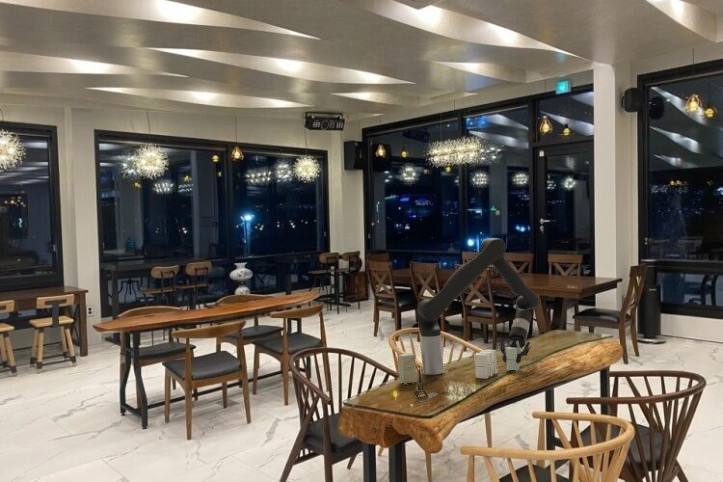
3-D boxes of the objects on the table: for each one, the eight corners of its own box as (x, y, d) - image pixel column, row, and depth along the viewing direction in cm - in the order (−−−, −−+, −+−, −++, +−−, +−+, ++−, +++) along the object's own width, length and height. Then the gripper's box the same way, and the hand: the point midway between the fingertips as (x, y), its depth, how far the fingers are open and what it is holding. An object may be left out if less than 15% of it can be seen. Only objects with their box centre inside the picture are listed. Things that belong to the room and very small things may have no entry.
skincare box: (404, 385, 238) (402, 356, 238) (399, 383, 242) (397, 354, 242) (417, 382, 241) (415, 354, 241) (411, 380, 245) (409, 352, 245)
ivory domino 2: (491, 376, 243) (489, 353, 243) (480, 375, 246) (478, 352, 246) (493, 375, 244) (491, 352, 244) (482, 374, 247) (480, 351, 247)
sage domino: (517, 371, 248) (516, 348, 248) (507, 370, 251) (505, 348, 251) (519, 370, 249) (517, 348, 249) (508, 369, 252) (507, 347, 252)
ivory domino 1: (486, 378, 239) (484, 355, 239) (475, 377, 242) (474, 354, 242) (488, 377, 240) (486, 354, 241) (477, 376, 244) (476, 353, 244)
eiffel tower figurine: (422, 404, 211) (419, 368, 211) (400, 400, 217) (397, 366, 217) (443, 394, 222) (440, 360, 222) (421, 391, 229) (419, 358, 229)
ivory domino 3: (495, 373, 246) (494, 351, 246) (485, 373, 249) (483, 350, 249) (497, 373, 248) (495, 350, 248) (487, 372, 251) (485, 349, 251)
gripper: (502, 325, 260) (492, 356, 251) (532, 326, 251) (523, 358, 242) (507, 334, 264) (498, 365, 255) (537, 336, 256) (529, 368, 246)
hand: (510, 361), depth 249 cm, fingers open, 5 cm apart
